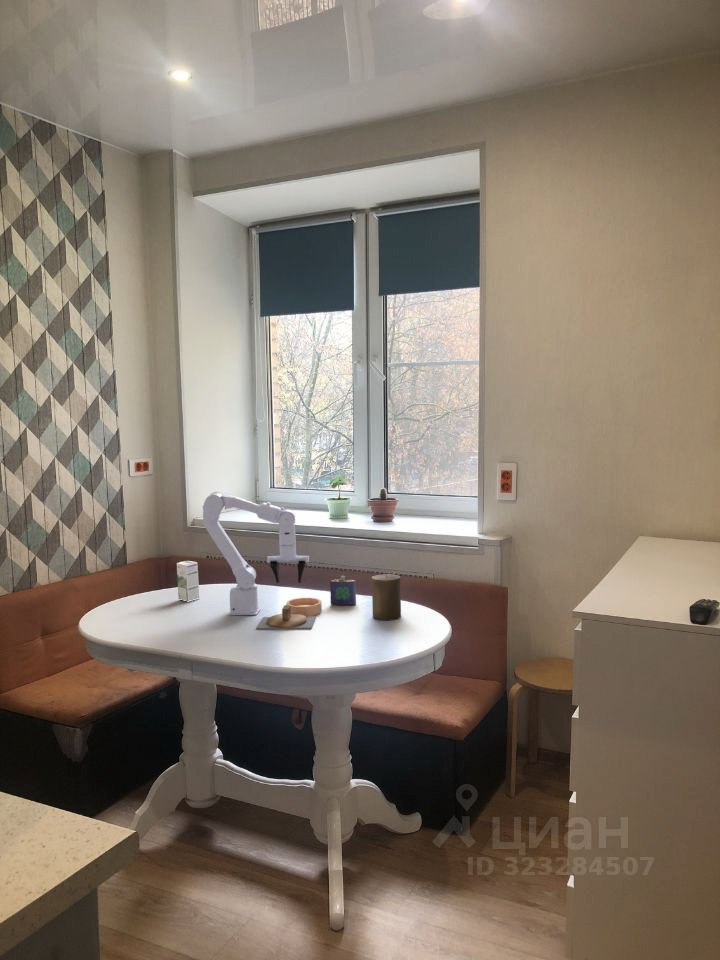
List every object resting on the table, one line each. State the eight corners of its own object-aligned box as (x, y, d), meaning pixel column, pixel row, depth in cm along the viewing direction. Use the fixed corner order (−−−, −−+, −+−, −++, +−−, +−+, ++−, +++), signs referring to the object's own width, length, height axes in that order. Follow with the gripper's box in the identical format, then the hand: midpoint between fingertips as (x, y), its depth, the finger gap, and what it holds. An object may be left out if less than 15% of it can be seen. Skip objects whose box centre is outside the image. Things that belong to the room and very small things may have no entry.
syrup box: (200, 599, 275) (198, 561, 274) (187, 602, 270) (185, 564, 269) (190, 597, 279) (188, 559, 277) (177, 600, 274) (176, 562, 272)
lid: (263, 627, 235) (263, 612, 235) (270, 616, 248) (270, 602, 248) (303, 627, 235) (303, 612, 234) (308, 616, 248) (308, 601, 247)
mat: (256, 629, 236) (256, 627, 236) (263, 618, 248) (263, 617, 248) (311, 629, 235) (311, 627, 235) (315, 618, 247) (315, 616, 247)
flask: (356, 603, 264) (355, 574, 263) (355, 605, 261) (355, 576, 260) (330, 604, 265) (330, 575, 264) (330, 606, 262) (329, 577, 261)
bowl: (284, 616, 249) (284, 606, 249) (289, 607, 261) (289, 597, 261) (319, 616, 249) (319, 606, 248) (323, 607, 260) (322, 597, 260)
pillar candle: (400, 620, 242) (399, 576, 240) (370, 620, 243) (370, 576, 242) (401, 613, 251) (401, 570, 250) (373, 612, 253) (373, 569, 251)
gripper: (264, 546, 251) (266, 585, 253) (306, 546, 250) (307, 585, 252) (268, 542, 258) (270, 580, 260) (309, 542, 257) (310, 580, 258)
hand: (288, 582), depth 256 cm, fingers open, 7 cm apart
